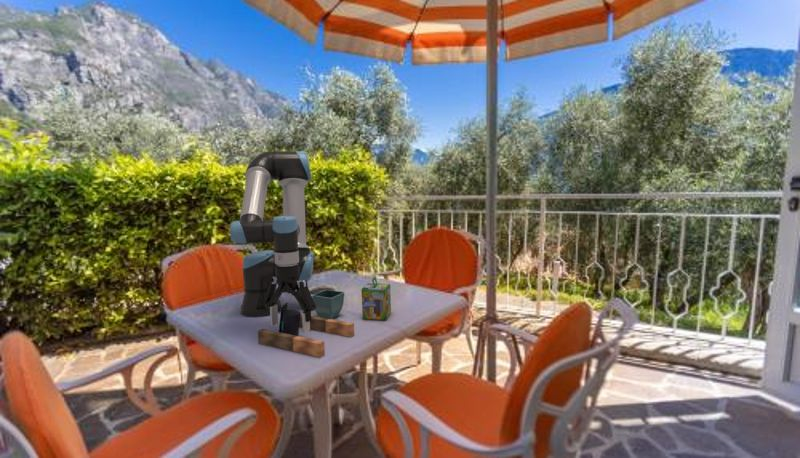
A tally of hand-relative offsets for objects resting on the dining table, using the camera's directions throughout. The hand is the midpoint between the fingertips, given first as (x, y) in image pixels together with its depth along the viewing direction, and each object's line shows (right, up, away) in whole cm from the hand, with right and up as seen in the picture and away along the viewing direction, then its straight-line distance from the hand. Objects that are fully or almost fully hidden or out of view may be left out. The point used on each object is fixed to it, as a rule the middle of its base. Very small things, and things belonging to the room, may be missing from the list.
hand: (290, 327), depth 128 cm
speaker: (0, -3, 0) cm, 3 cm away
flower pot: (+10, -1, +18) cm, 20 cm away
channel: (+6, -3, -3) cm, 7 cm away
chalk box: (+28, 0, +18) cm, 33 cm away
